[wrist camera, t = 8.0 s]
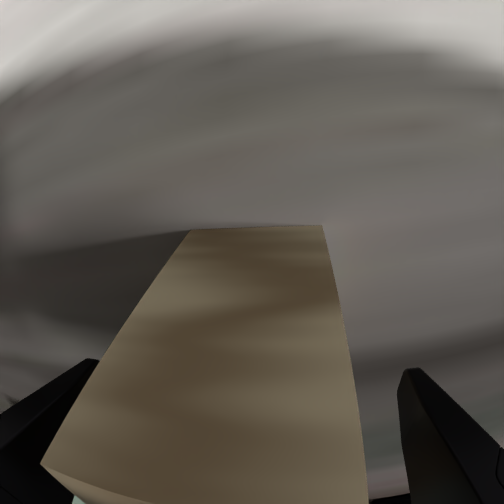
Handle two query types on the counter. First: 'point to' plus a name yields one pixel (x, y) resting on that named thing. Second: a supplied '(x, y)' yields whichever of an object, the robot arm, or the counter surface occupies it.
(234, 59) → the counter surface
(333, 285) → the brown wooden block
